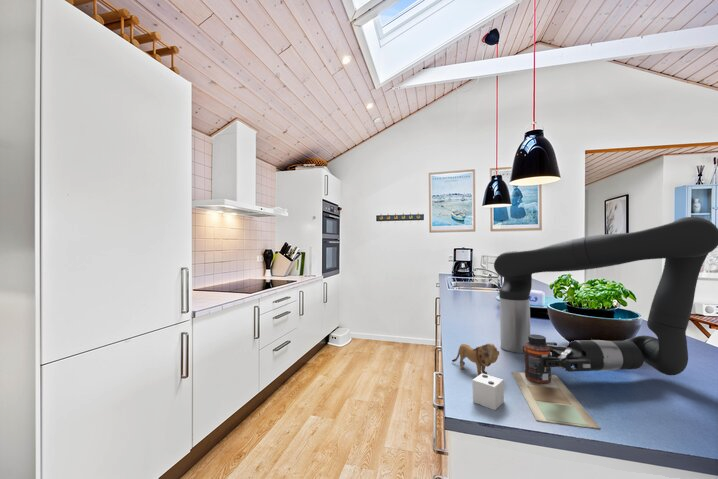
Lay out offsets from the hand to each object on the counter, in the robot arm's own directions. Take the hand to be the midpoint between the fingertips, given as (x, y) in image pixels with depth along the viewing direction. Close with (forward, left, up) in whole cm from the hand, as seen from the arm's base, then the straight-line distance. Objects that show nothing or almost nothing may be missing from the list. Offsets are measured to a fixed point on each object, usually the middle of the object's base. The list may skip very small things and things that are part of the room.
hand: (532, 355), depth 79 cm
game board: (+6, +5, -7) cm, 10 cm away
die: (+18, -4, -7) cm, 20 cm away
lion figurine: (+4, -13, -7) cm, 16 cm away
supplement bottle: (-1, +1, -6) cm, 7 cm away
